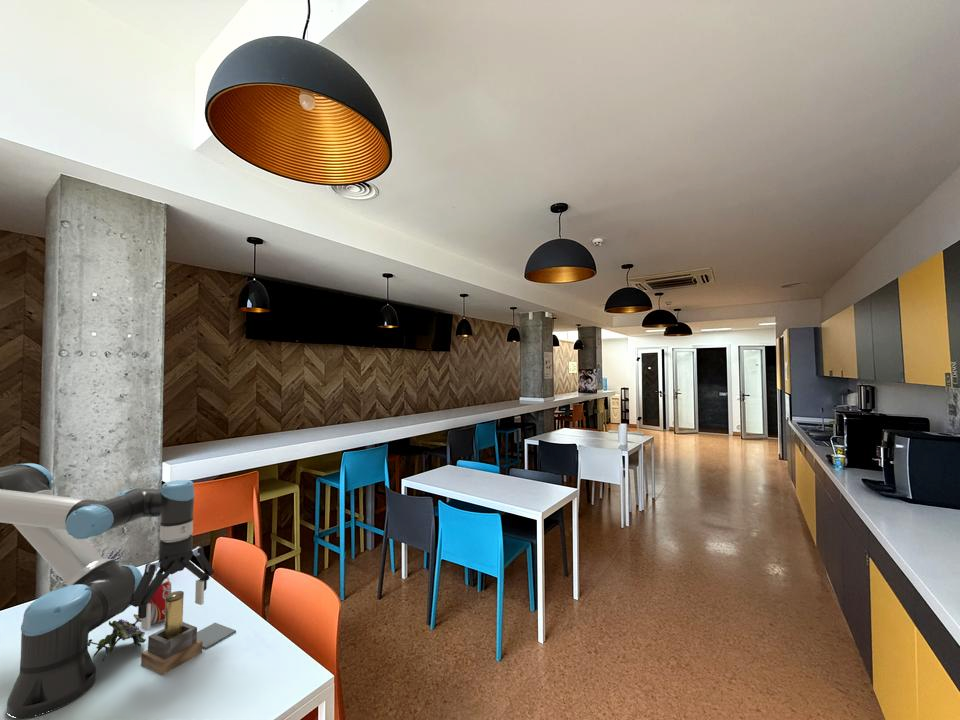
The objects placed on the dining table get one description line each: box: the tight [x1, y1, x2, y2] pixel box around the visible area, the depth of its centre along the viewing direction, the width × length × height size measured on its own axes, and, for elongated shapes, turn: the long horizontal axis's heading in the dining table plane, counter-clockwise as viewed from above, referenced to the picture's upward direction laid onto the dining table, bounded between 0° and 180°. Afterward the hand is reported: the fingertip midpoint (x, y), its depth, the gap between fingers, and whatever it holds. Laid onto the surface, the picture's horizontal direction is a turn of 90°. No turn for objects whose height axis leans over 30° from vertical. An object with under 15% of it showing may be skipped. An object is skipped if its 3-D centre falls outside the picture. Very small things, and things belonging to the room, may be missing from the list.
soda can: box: [148, 576, 172, 625], centre depth 132 cm, size 7×7×12 cm
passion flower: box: [88, 614, 147, 662], centre depth 116 cm, size 11×11×12 cm
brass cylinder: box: [163, 590, 185, 640], centre depth 114 cm, size 4×4×14 cm
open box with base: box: [140, 621, 203, 676], centre depth 114 cm, size 10×10×7 cm
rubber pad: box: [197, 622, 237, 651], centre depth 123 cm, size 9×10×1 cm
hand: (173, 615), depth 114 cm, fingers open, 13 cm apart
